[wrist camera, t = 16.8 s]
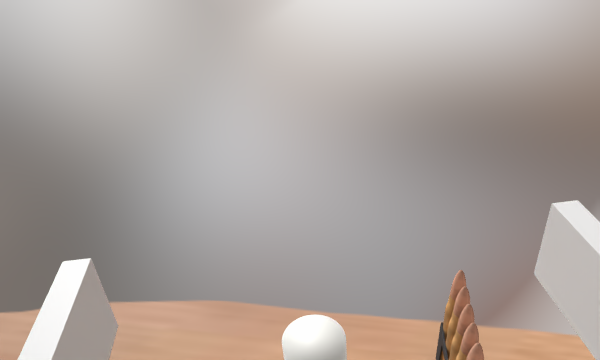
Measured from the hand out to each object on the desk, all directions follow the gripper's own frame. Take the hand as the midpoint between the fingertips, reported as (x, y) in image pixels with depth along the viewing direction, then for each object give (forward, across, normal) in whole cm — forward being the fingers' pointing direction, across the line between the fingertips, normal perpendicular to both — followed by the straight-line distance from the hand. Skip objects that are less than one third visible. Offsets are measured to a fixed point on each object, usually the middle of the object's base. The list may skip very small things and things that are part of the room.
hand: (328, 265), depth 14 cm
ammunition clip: (+13, +12, -30) cm, 35 cm away
